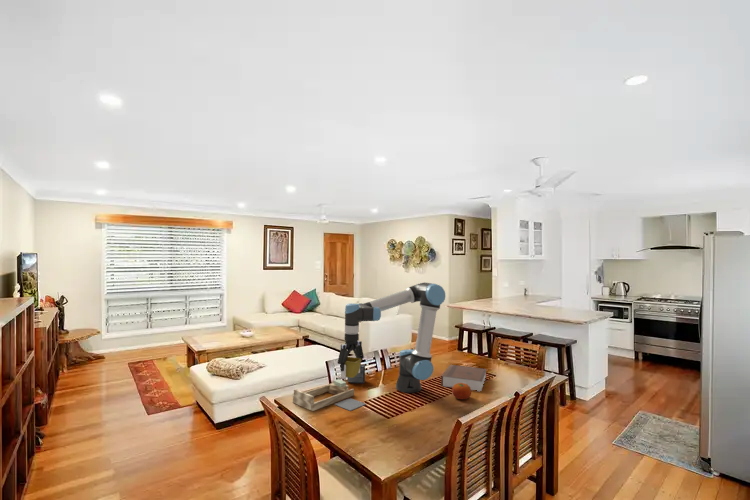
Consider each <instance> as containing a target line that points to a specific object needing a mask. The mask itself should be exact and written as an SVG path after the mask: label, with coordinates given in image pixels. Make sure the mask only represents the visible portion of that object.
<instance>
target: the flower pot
mask: <svg viewBox="0 0 750 500" xmlns="http://www.w3.org/2000/svg"><path fill="white" fill-rule="evenodd" d="M360 364H362V361H361V358H356V357H353V356H348V357H347V360H346V362H345V365H346V377H345V378H348V377H350V378H354V377H355V376H356V375H357V374H358V372H359V369H360Z"/></svg>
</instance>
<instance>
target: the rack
mask: <svg viewBox="0 0 750 500" xmlns="http://www.w3.org/2000/svg"><path fill="white" fill-rule="evenodd" d="M332 383H333V382H331V383H328V384H325V385H322V386H319V387H316V388H313V389H311V390H307V391H301V390H298V389H295V388H294V389H293V395H292V403H293V404H296V405H298V406H300V407H302V408H304V409H307V410H309V411H312V412H314V411H317V410H319V409H323V408H325V407H328V406H330V405H332V404H333V405H334V404H336V403H338V402H341V401H343V400H346V399H349V398H351V397H354V396H355V389H354V388H351V389H348V391H345V392H342V393H339V394H337V395H335V394H333V395H332V396H329V397H326V398H323V399H320V400H318V401H315V397H316V396H319V395H321V394H325V393H327V392H328V393H329V388H330V384H332Z"/></svg>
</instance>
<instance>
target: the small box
mask: <svg viewBox="0 0 750 500" xmlns="http://www.w3.org/2000/svg"><path fill="white" fill-rule="evenodd" d="M347 382H350V383H349V384H359V383H360V384H361V385H362V384H365V382H366V364H365V363H364V364H363V363H361V366H360V373H358V374H357V375H356V376H355V377H354V378H350V377H347ZM347 382H346V383H347Z"/></svg>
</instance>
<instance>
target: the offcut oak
mask: <svg viewBox="0 0 750 500" xmlns="http://www.w3.org/2000/svg"><path fill="white" fill-rule="evenodd" d="M331 383H332V384H331ZM331 383H329V384H330V389H331V390H337V391H343V392H345V391H347V390H349V385H348V384H346V386H344V387H339V386H337V385H334V384H333V382H331Z"/></svg>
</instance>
